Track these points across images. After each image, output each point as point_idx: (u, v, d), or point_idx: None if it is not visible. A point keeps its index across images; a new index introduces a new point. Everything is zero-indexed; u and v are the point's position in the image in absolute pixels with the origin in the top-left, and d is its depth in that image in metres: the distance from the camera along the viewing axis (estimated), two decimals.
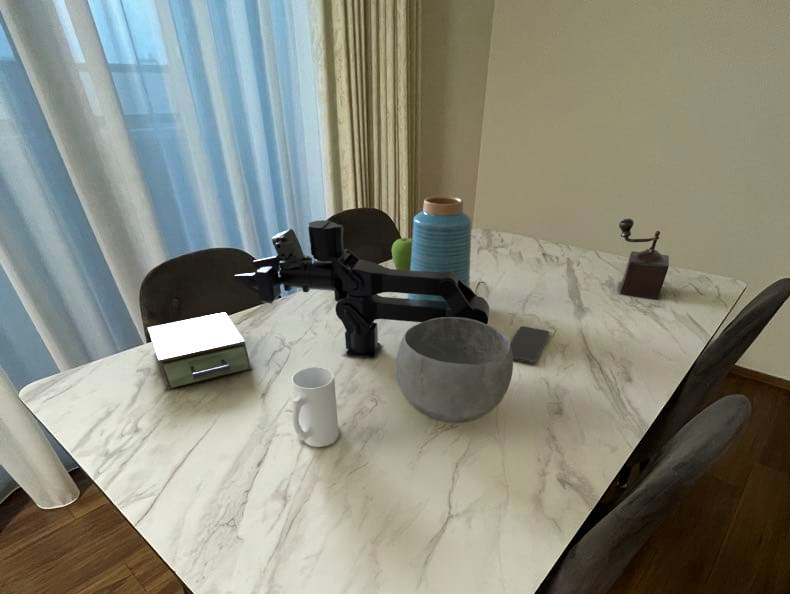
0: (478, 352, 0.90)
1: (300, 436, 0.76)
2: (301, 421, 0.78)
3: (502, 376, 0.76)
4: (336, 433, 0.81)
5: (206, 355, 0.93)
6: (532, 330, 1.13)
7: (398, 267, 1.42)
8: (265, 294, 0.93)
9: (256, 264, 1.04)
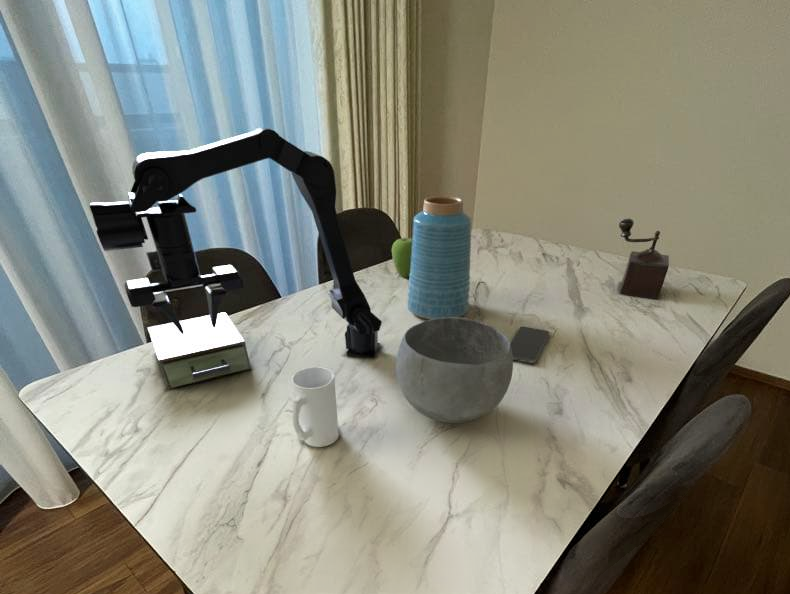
0: (478, 352, 0.90)
1: (300, 436, 0.76)
2: (301, 421, 0.78)
3: (502, 376, 0.76)
4: (336, 433, 0.81)
5: (206, 355, 0.93)
6: (532, 330, 1.13)
7: (398, 267, 1.42)
8: None
9: (212, 323, 0.88)
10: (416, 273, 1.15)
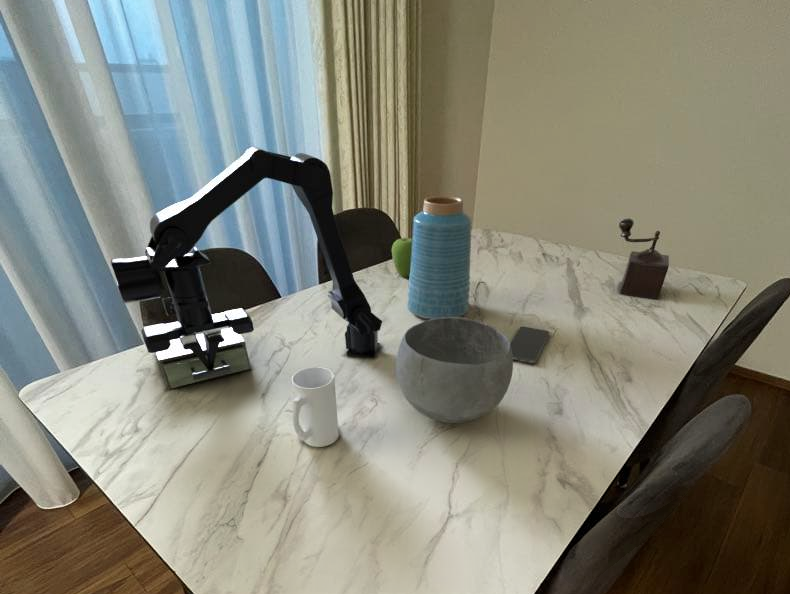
0: (478, 352, 0.90)
1: (300, 436, 0.76)
2: (301, 421, 0.78)
3: (502, 376, 0.76)
4: (336, 433, 0.81)
5: (206, 355, 0.93)
6: (532, 330, 1.13)
7: (398, 267, 1.42)
8: None
9: None
10: (416, 273, 1.15)
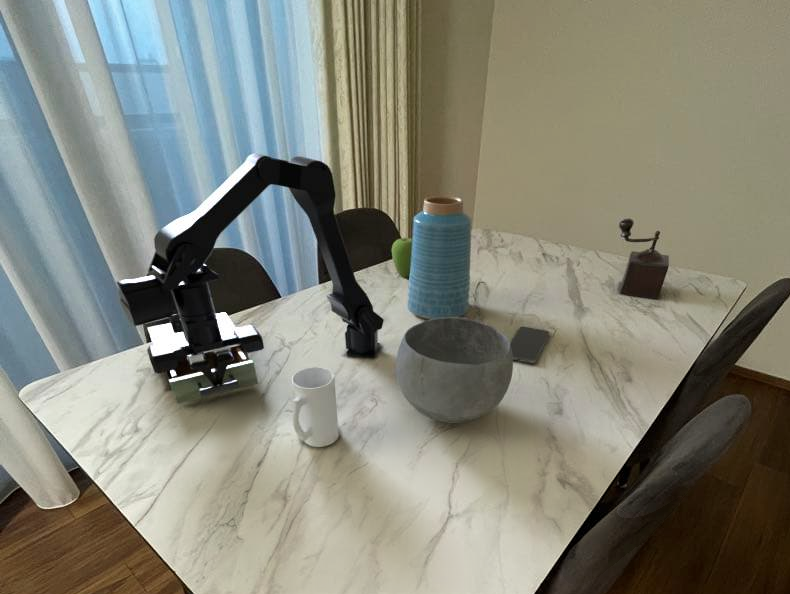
0: (478, 352, 0.90)
1: (300, 436, 0.76)
2: (301, 421, 0.78)
3: (502, 376, 0.76)
4: (336, 433, 0.81)
5: (214, 370, 0.89)
6: (532, 330, 1.13)
7: (398, 267, 1.42)
8: None
9: None
10: (416, 273, 1.15)
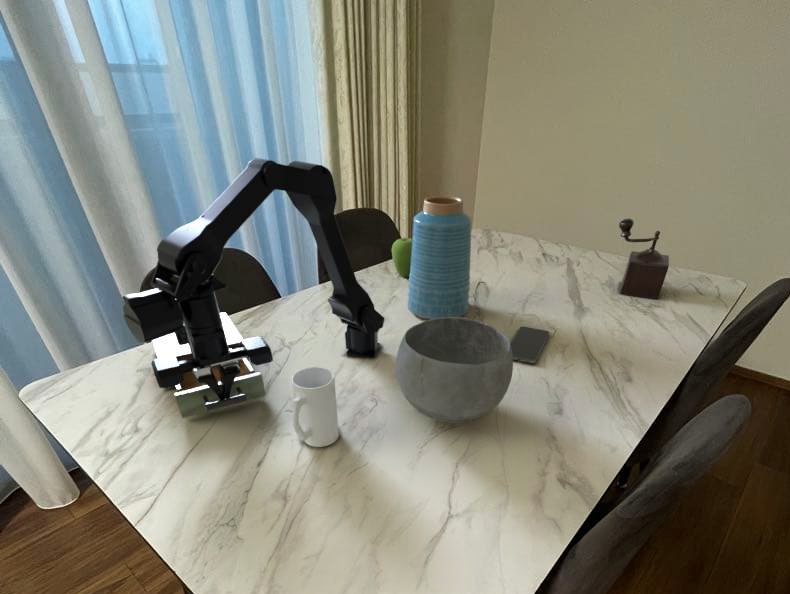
0: (478, 352, 0.90)
1: (300, 436, 0.76)
2: (301, 421, 0.78)
3: (502, 376, 0.76)
4: (336, 433, 0.81)
5: (220, 383, 0.85)
6: (532, 330, 1.13)
7: (398, 267, 1.42)
8: None
9: None
10: (416, 273, 1.15)
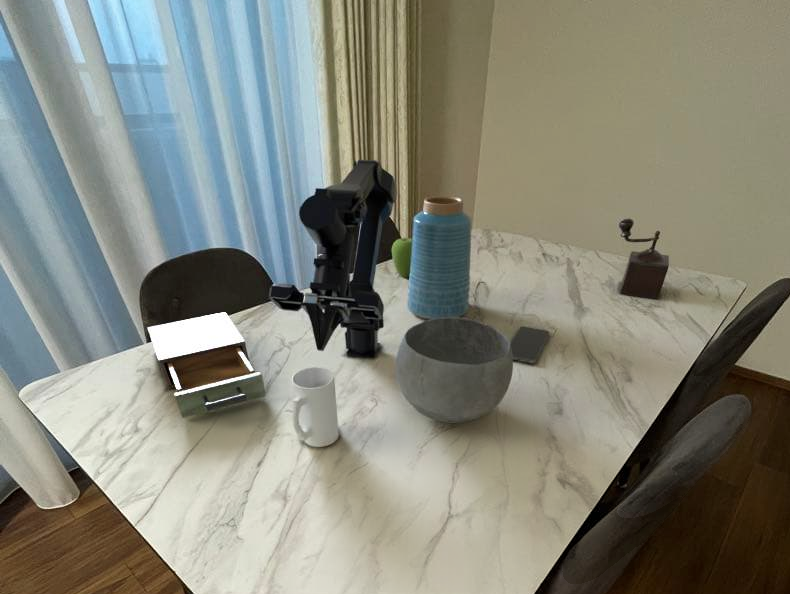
0: (478, 352, 0.90)
1: (300, 436, 0.76)
2: (301, 421, 0.78)
3: (502, 376, 0.76)
4: (336, 433, 0.81)
5: (220, 383, 0.85)
6: (532, 330, 1.13)
7: (398, 267, 1.42)
8: None
9: None
10: (416, 273, 1.15)
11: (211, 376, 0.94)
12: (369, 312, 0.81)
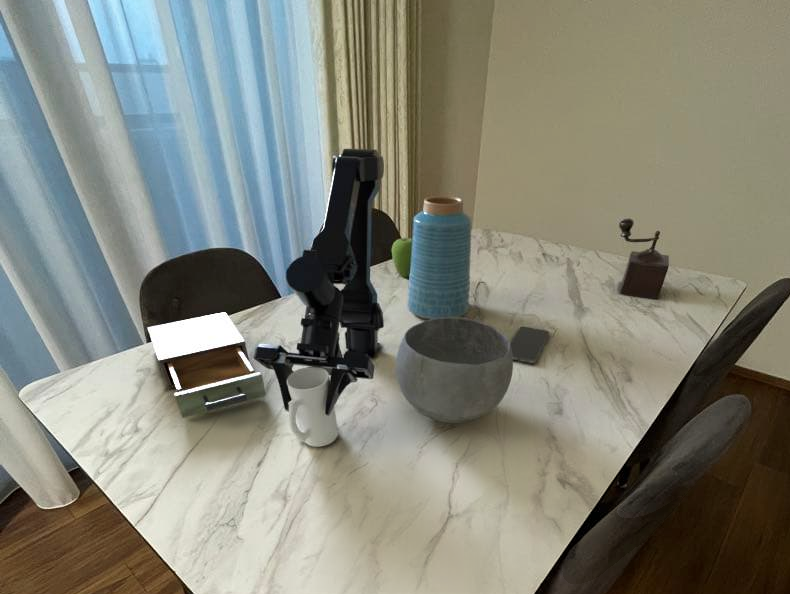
0: (478, 352, 0.90)
1: (298, 437, 0.76)
2: (299, 422, 0.78)
3: (502, 376, 0.76)
4: (335, 432, 0.81)
5: (220, 383, 0.85)
6: (532, 330, 1.13)
7: (398, 267, 1.42)
8: None
9: None
10: (416, 273, 1.15)
11: (211, 376, 0.94)
12: (359, 372, 0.78)
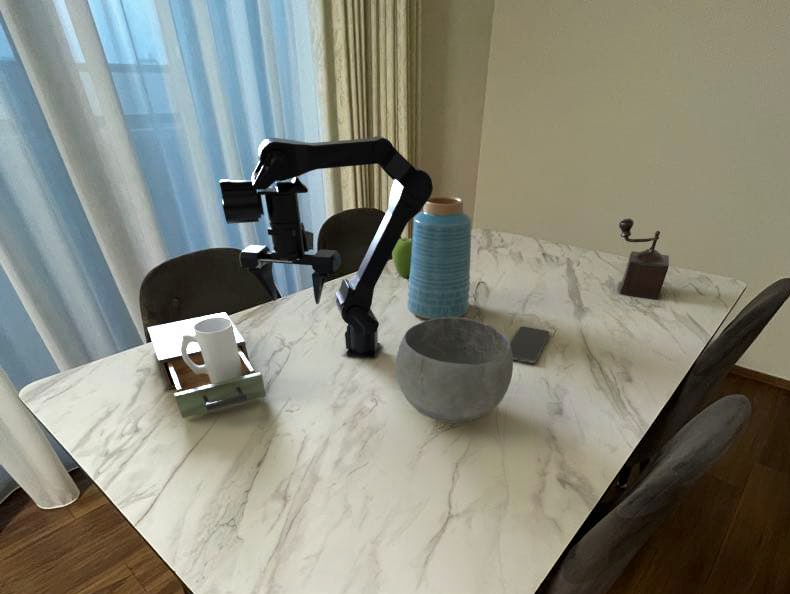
0: (478, 352, 0.90)
1: None
2: None
3: (502, 376, 0.76)
4: None
5: (220, 383, 0.85)
6: (532, 330, 1.13)
7: (398, 267, 1.42)
8: None
9: None
10: (416, 273, 1.15)
11: None
12: None
